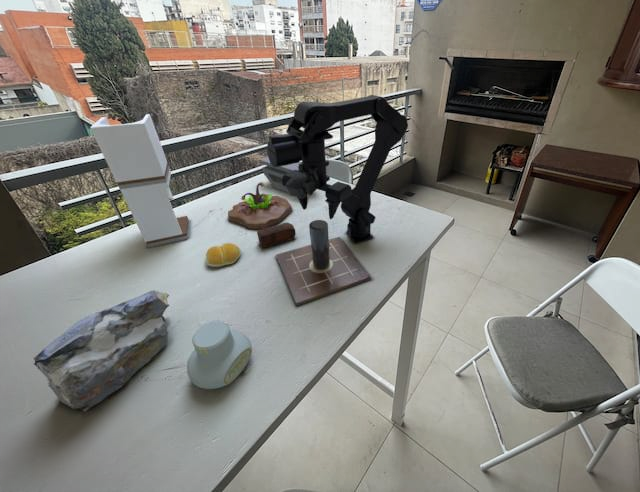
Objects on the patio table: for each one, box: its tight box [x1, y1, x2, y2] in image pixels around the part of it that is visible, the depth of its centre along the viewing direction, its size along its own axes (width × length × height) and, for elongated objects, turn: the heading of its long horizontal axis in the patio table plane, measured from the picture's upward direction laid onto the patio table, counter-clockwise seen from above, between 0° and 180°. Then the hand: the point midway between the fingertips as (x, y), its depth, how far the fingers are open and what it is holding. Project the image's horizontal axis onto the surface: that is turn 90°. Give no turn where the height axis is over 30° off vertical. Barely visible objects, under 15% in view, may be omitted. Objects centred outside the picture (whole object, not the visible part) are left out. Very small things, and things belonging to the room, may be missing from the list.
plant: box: [227, 181, 293, 230], centre depth 99 cm, size 20×20×11 cm
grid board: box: [275, 236, 371, 307], centre depth 78 cm, size 20×20×1 cm
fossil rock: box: [33, 289, 170, 413], centre depth 52 cm, size 20×10×15 cm, turn 153°
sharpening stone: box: [258, 156, 302, 194], centre depth 117 cm, size 25×8×11 cm, turn 56°
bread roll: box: [205, 242, 242, 268], centre depth 80 cm, size 8×9×4 cm
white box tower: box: [89, 113, 190, 248], centre depth 81 cm, size 11×11×35 cm
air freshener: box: [186, 319, 253, 390], centre depth 51 cm, size 11×8×10 cm
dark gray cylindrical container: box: [308, 219, 330, 270], centre depth 74 cm, size 5×5×13 cm
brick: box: [256, 222, 297, 249], centre depth 87 cm, size 11×4×5 cm, turn 124°
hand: (317, 213), depth 77 cm, fingers open, 9 cm apart
